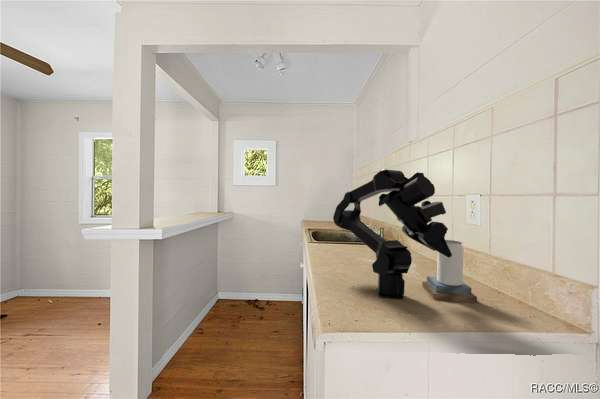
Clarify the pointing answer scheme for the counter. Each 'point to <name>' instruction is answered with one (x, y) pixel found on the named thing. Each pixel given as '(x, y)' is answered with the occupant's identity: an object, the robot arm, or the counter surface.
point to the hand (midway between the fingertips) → (442, 252)
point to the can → (451, 265)
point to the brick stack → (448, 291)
